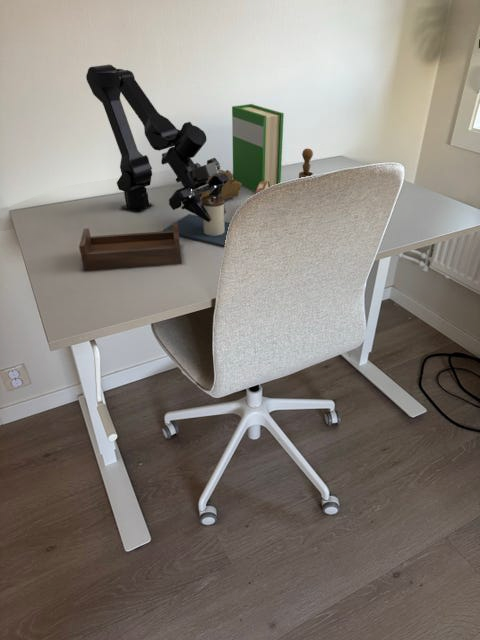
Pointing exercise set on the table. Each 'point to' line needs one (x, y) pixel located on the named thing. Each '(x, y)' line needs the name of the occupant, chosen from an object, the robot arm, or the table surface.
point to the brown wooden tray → (130, 249)
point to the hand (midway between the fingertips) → (217, 217)
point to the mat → (198, 230)
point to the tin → (262, 186)
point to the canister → (214, 215)
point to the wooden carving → (226, 186)
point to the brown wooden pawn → (306, 163)
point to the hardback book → (256, 145)
